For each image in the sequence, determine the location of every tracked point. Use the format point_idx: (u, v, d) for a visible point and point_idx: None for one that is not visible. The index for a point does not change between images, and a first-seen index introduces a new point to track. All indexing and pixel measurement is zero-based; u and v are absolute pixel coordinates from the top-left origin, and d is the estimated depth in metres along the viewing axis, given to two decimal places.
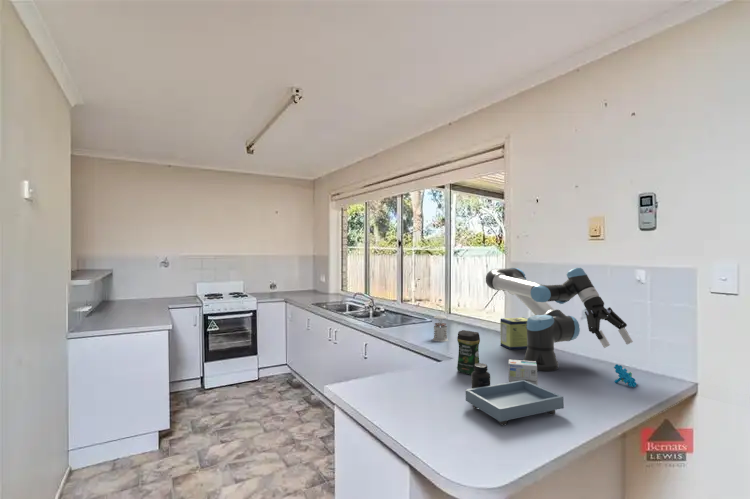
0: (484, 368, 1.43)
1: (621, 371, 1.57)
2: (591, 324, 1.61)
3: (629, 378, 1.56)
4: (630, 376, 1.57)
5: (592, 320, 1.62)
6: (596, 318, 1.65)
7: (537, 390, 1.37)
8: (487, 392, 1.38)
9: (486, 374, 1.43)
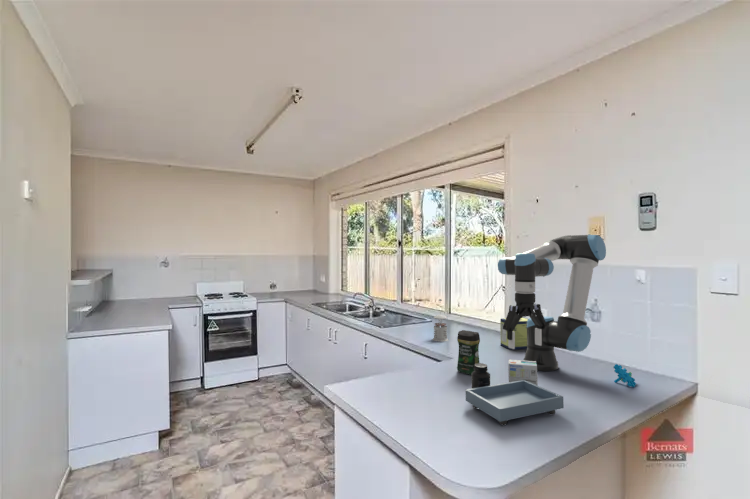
0: (484, 368, 1.43)
1: (620, 371, 1.57)
2: (507, 324, 1.48)
3: (628, 378, 1.56)
4: (630, 376, 1.58)
5: (511, 320, 1.48)
6: (517, 316, 1.50)
7: (537, 390, 1.37)
8: (487, 392, 1.38)
9: (486, 374, 1.43)
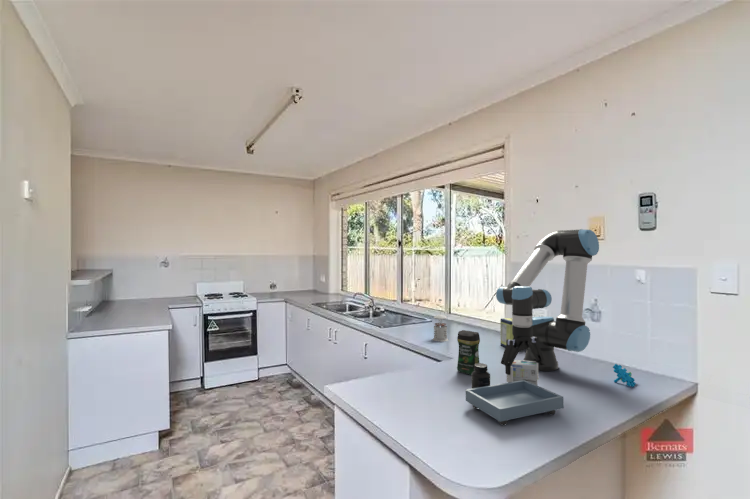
0: (484, 368, 1.43)
1: (620, 371, 1.57)
2: (505, 358, 1.48)
3: (628, 378, 1.56)
4: (629, 376, 1.58)
5: (508, 354, 1.49)
6: (515, 350, 1.50)
7: (537, 390, 1.37)
8: (487, 392, 1.38)
9: (486, 374, 1.43)
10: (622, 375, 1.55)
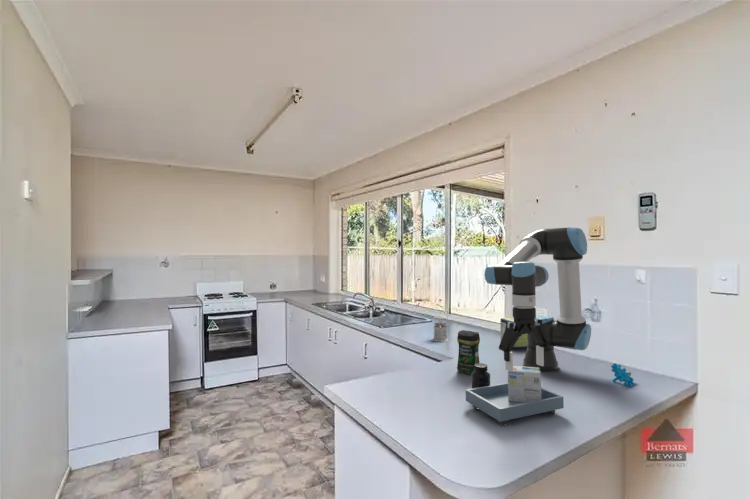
0: (484, 368, 1.43)
1: (618, 370, 1.58)
2: (504, 343, 1.30)
3: (626, 377, 1.57)
4: (628, 375, 1.58)
5: (508, 339, 1.30)
6: (515, 334, 1.32)
7: None
8: (487, 392, 1.38)
9: (486, 374, 1.43)
10: (620, 374, 1.56)
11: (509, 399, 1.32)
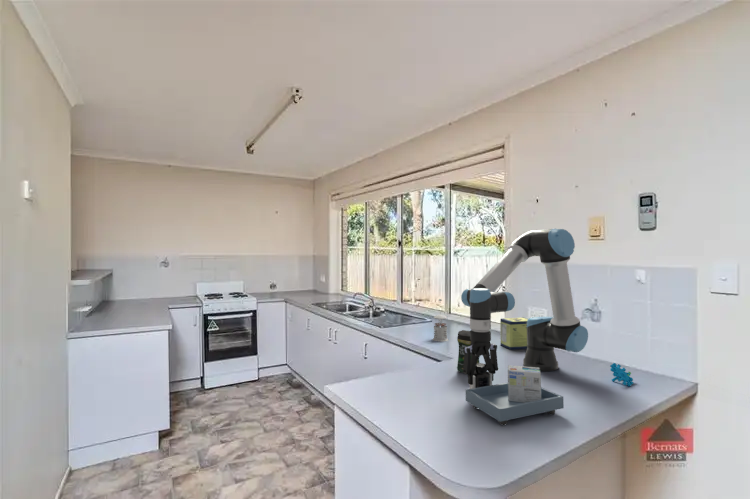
0: (484, 368, 1.43)
1: (617, 370, 1.58)
2: (466, 368, 1.42)
3: (625, 377, 1.57)
4: (627, 375, 1.58)
5: (468, 363, 1.42)
6: (474, 358, 1.43)
7: None
8: (487, 392, 1.38)
9: (486, 374, 1.43)
10: (619, 374, 1.57)
11: (509, 399, 1.32)
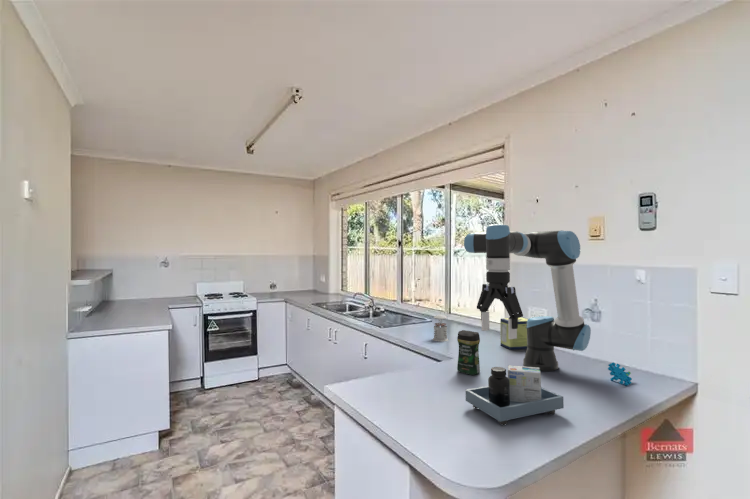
0: (492, 371, 1.29)
1: (615, 369, 1.59)
2: None
3: (623, 376, 1.58)
4: (626, 375, 1.59)
5: (480, 298, 1.37)
6: None
7: None
8: (487, 392, 1.38)
9: (493, 378, 1.28)
10: (616, 373, 1.58)
11: None
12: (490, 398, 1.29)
